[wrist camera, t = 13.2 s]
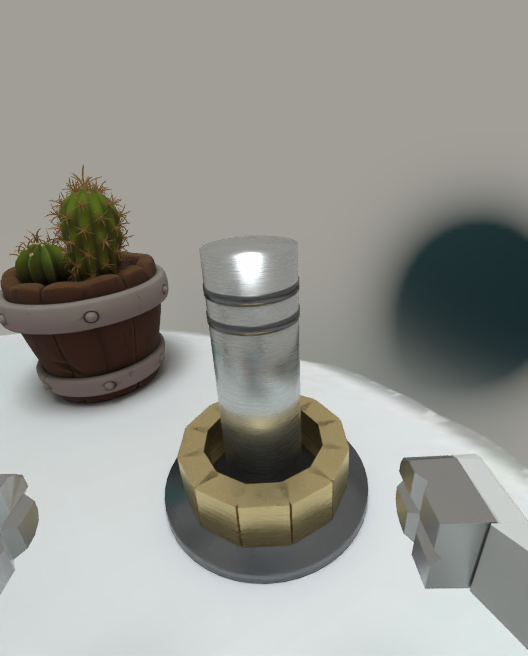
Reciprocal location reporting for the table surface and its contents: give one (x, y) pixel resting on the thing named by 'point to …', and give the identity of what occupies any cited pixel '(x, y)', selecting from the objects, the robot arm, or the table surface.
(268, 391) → the piston
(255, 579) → the ring seat
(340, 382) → the table surface
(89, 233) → the flowerpot
